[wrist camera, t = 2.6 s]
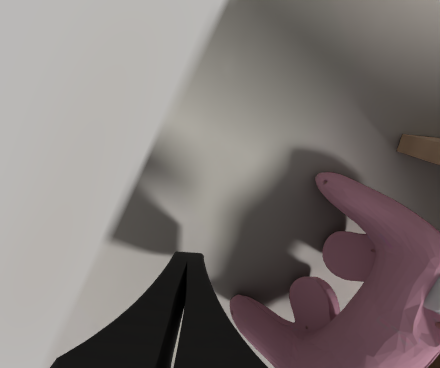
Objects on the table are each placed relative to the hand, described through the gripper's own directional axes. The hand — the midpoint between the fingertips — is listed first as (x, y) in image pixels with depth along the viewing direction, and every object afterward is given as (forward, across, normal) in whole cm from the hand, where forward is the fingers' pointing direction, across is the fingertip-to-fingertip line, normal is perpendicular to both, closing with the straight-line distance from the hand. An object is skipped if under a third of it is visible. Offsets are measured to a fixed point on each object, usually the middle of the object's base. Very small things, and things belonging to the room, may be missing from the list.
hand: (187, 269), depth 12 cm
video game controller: (+2, -7, 0) cm, 7 cm away
